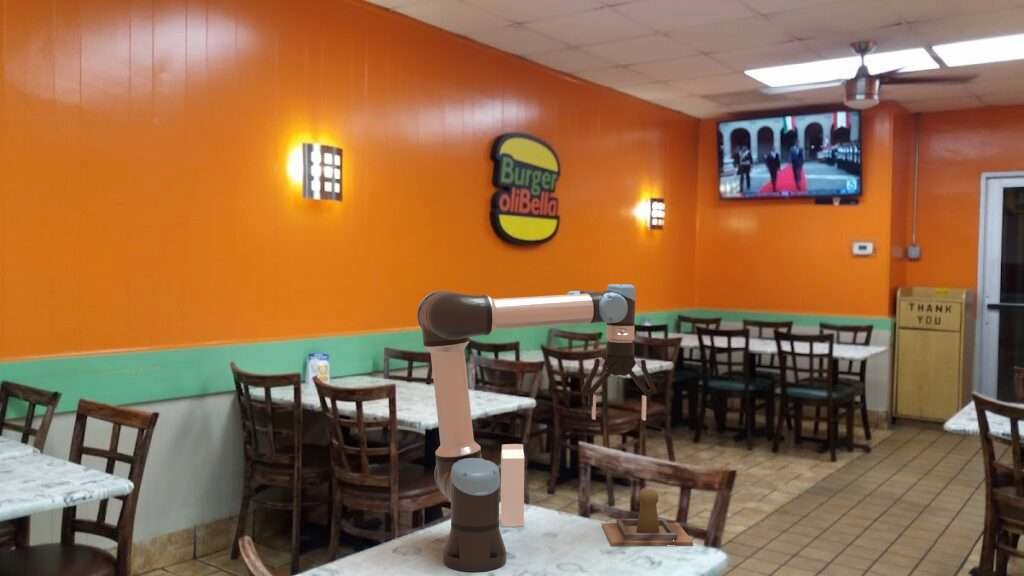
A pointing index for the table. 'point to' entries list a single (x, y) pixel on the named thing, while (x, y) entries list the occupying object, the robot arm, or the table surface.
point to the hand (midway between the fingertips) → (618, 419)
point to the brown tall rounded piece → (648, 512)
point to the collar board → (645, 534)
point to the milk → (512, 485)
